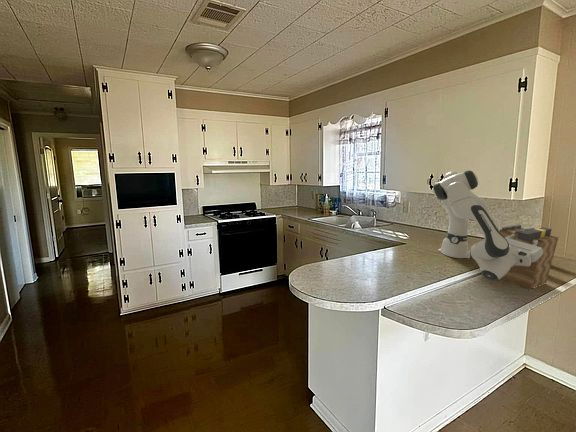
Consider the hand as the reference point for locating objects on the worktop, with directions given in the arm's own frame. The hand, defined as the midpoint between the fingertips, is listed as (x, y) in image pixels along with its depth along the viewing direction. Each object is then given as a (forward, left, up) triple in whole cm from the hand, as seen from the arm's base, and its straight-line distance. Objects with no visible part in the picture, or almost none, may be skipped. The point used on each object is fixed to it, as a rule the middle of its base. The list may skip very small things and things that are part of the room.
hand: (525, 238), depth 156 cm
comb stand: (-15, +1, -27) cm, 31 cm away
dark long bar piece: (-9, +3, -1) cm, 10 cm away
